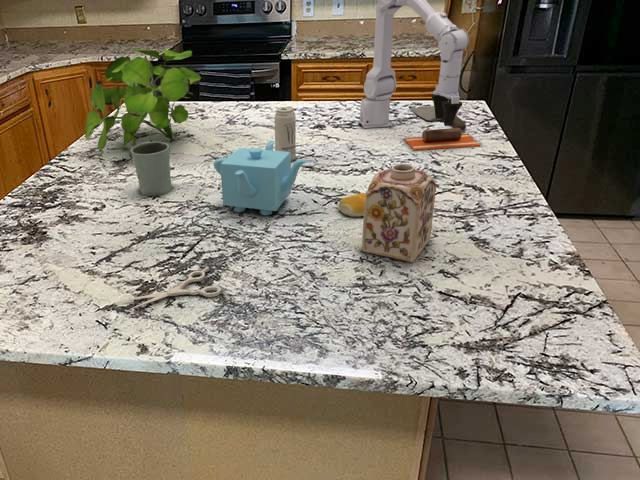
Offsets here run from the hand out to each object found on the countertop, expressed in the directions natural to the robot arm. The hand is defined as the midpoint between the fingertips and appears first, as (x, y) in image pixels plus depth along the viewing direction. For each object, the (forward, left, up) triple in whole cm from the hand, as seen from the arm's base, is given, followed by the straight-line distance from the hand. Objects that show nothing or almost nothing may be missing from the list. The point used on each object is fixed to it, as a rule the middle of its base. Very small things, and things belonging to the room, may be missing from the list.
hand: (443, 121), depth 184 cm
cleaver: (+7, +23, -7) cm, 25 cm away
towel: (0, 0, -6) cm, 6 cm away
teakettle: (-59, -39, -7) cm, 71 cm away
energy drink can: (-49, -6, -7) cm, 50 cm away
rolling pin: (0, 0, -4) cm, 4 cm away
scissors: (-80, -79, -7) cm, 112 cm away
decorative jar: (-32, -66, -7) cm, 73 cm away
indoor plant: (-92, +20, -7) cm, 94 cm away
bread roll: (-36, -46, -7) cm, 58 cm away
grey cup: (-87, -23, -7) cm, 90 cm away
